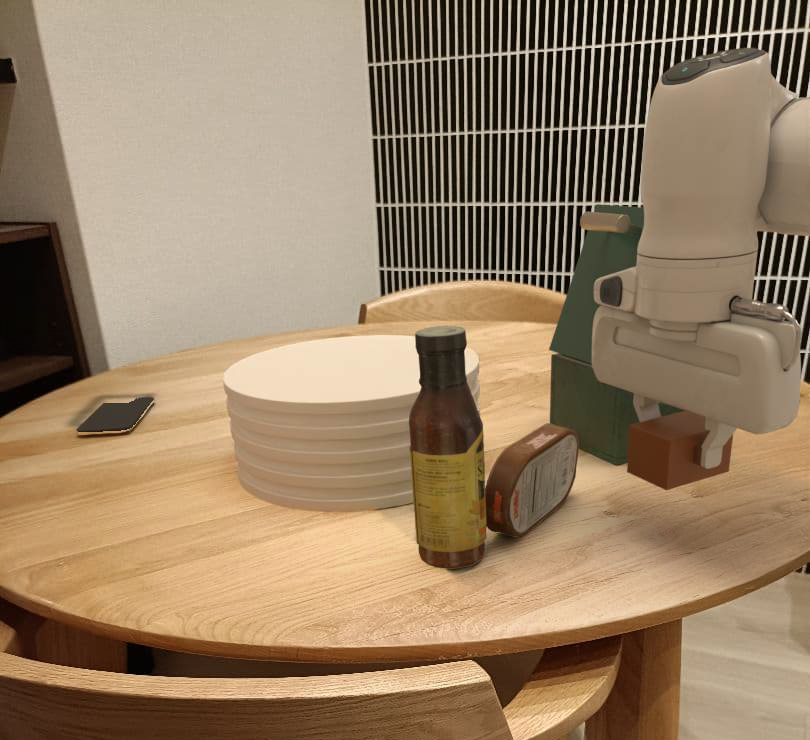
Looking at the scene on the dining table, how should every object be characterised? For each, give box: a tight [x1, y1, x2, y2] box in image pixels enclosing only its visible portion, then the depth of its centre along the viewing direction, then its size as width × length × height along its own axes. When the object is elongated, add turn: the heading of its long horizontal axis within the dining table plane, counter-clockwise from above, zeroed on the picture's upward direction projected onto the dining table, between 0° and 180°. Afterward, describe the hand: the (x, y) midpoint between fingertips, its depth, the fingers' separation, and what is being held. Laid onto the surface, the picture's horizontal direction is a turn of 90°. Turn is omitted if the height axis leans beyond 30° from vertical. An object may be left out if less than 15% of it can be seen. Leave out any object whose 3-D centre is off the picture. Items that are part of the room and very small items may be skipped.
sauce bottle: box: [409, 325, 488, 570], centre depth 69 cm, size 6×6×20 cm
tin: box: [485, 422, 580, 538], centre depth 77 cm, size 15×3×8 cm, turn 145°
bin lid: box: [548, 203, 644, 364], centre depth 87 cm, size 16×13×5 cm
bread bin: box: [549, 353, 685, 466], centre depth 96 cm, size 16×13×10 cm
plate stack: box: [222, 334, 481, 513], centre depth 93 cm, size 28×28×12 cm
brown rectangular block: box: [626, 411, 734, 491], centre depth 70 cm, size 7×5×4 cm
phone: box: [75, 396, 155, 432], centre depth 115 cm, size 7×1×15 cm
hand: (678, 454), depth 71 cm, fingers closed on brown rectangular block, 5 cm apart
